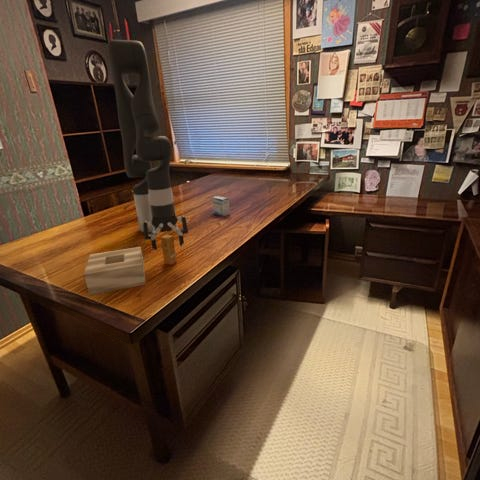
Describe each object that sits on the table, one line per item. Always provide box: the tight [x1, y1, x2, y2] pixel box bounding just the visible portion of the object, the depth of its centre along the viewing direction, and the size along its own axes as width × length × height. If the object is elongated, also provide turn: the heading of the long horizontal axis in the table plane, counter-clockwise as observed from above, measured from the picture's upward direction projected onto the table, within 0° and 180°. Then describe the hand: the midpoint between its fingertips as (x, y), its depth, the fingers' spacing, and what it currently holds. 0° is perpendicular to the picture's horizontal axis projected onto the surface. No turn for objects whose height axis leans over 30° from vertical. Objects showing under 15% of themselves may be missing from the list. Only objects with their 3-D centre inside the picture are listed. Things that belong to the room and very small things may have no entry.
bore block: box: [83, 246, 147, 296], centre depth 95 cm, size 14×16×7 cm
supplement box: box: [160, 234, 177, 266], centre depth 104 cm, size 3×3×10 cm
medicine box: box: [211, 195, 230, 217], centre depth 153 cm, size 8×4×9 cm, turn 47°
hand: (168, 247), depth 103 cm, fingers open, 8 cm apart
